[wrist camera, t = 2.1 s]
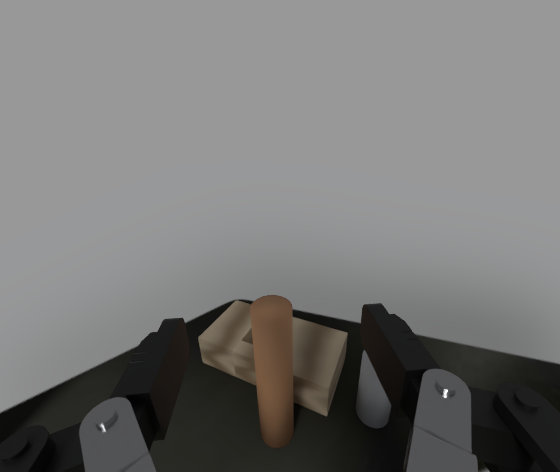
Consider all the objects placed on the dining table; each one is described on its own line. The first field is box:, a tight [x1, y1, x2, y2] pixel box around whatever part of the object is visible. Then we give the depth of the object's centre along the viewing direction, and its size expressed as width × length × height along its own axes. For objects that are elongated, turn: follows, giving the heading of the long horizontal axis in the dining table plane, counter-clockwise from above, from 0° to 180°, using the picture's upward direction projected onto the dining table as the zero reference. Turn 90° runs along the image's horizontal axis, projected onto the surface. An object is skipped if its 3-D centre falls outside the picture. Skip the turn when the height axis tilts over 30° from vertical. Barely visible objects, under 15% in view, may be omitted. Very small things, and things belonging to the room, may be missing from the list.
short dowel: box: [356, 350, 391, 428], centre depth 32 cm, size 4×4×9 cm
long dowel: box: [250, 295, 294, 448], centre depth 29 cm, size 4×4×18 cm
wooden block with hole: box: [198, 300, 348, 416], centre depth 41 cm, size 20×10×5 cm, turn 64°
